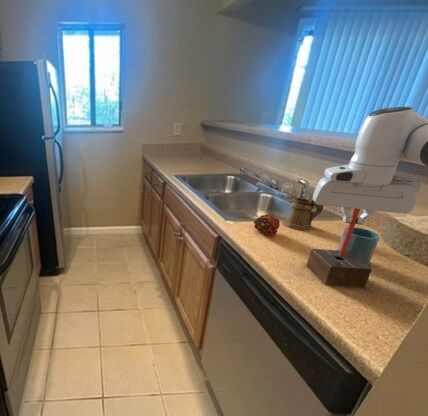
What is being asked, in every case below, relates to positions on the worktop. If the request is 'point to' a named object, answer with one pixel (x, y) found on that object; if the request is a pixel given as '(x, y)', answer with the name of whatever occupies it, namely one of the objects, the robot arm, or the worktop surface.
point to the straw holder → (338, 268)
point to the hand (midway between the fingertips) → (352, 223)
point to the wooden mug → (302, 214)
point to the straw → (349, 232)
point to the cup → (361, 243)
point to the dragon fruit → (267, 224)
